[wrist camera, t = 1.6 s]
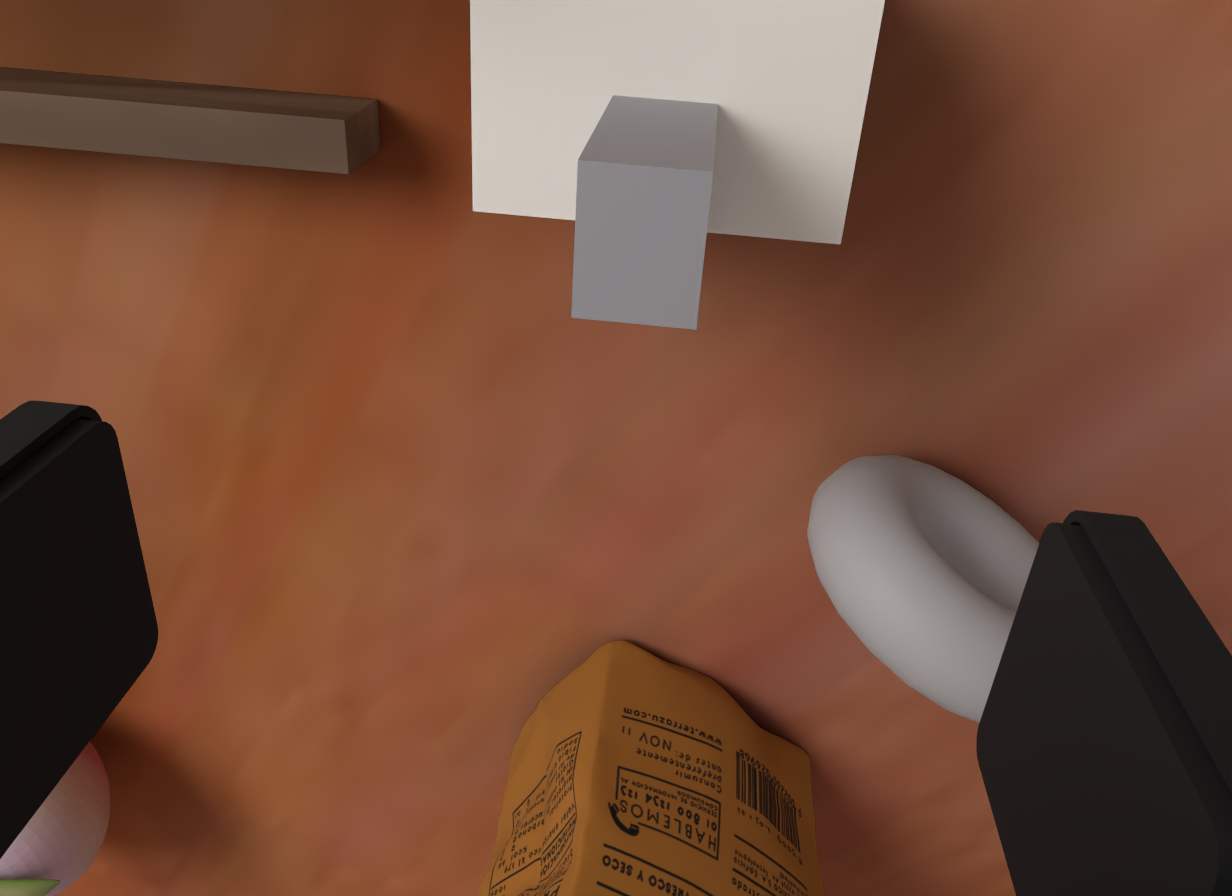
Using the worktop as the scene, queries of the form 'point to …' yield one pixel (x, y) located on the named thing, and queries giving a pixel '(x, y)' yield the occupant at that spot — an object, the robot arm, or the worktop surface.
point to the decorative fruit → (60, 833)
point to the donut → (921, 573)
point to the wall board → (187, 121)
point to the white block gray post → (668, 131)
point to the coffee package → (651, 791)
